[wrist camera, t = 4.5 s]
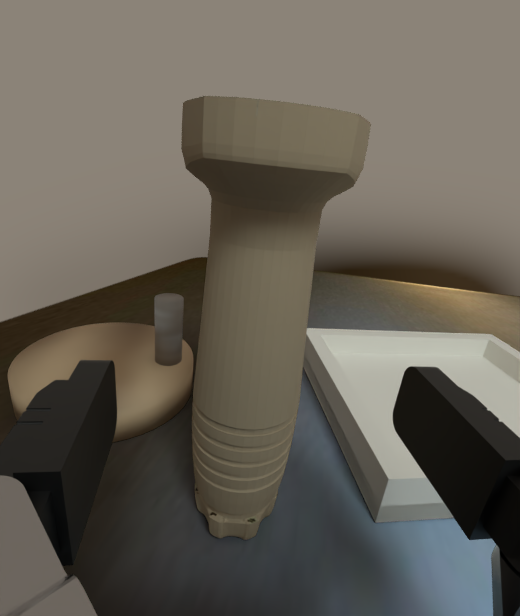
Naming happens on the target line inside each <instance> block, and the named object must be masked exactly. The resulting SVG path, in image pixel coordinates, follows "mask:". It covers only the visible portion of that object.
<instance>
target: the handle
mask: <svg viewBox="0 0 520 616" xmlns="http://www.w3.org/2000/svg"><path fill="white" fill-rule="evenodd" d="M370 126H371V124H370V122H369V121H367V120H366V119H365V118H363V117H362V116H361V115H359V114H355V113H350V112H345V111H340V110H335V109H330V108H324V107H317V106H311V105H304V104H296V103H289V102H280V101H270V100H261V99H251V98H239V97H220V96H218V97H217V96H203V97H199V98H195V99H191V100H188V101H185V102H184V103H183V118H182V153H183V157H184V161H185V165H186V169H187V170H189V171H190V172H191V173H192V174H193V175H194V176H195V177H196V178H198V179H199V180H200V181H202V182H203V183H204V184H205V185H206V187H207V188H208V189H209V192H210V195H211V198H212V203H211V225H210V240H209V250H208V259H207V269H206V279H205V289H204V298H203V308H202V317H201V326H200V335H199V344H198V353H197V362H196V370H195V379H194V388H193V408H192V410H193V413H192V440H193V441H192V448H193V464H194V474H195V480H196V482H195V499H196V504H197V509H198V510H199V511H200V512H201V513H203V514H204V515H205V516H206V518H207V520H208V523H209V532H210V533H211V534H212V535H214V536H215V537H218V538H223V537H226V536H235V537H240V538H242V539H243V540H247V539H250V538H252V537H254V536H256V534H257V531H258V528H259V524H260V522H261V521H262V520H263V518H264V517H267V516H269V515H270V514H271V512H272V510H273V507H274V504H275V501H276V498H277V494H278V488H279V485H280V483H281V480H282V477H283V474H284V471H285V467H286V463H287V459H288V455H289V451H290V447H291V443H292V438H293V433H294V428H295V422H296V417H297V412H298V406H299V400H300V391H301V381H302V371H303V361H304V351H305V341H306V331H307V321H308V312H309V303H310V294H311V285H312V277H313V266H314V259H315V249H316V241H317V236H318V230H319V224H320V218H321V213H322V209H323V207H324V206H325V204H326V203H327V201H329V200H330V199H331V198H332V197H334V196H336V195H338V194H340V193H342V192H344V191H346V190H348V189H350V188H351V187H353V186H354V184H355V182H356V181H357V179H358V177H359V175H360V173H361V171H362V169H363V165H364V160H365V156H366V151H367V146H368V139H369V133H370Z"/></svg>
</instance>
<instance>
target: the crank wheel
mask: <svg viewBox="0 0 520 616" xmlns="http://www.w3.org/2000/svg"><path fill="white" fill-rule="evenodd" d="M182 334H183V297H182V296H180V295H178V294H172V293H165V294H159V295H157V296H155V327H154V326H150V325H144V324H137V323H100V324H92V325H85V326H80V327H75V328H71V329H67V330H64V331H60V332H57V333H54V334H52V335H49V336H47V337H45V338H43V339H40V340H38V341H36V342H35V343H33V344H31V345H30V346H28V347H27V348H26V349H24V350H23V351H22V352H21V353H20V354H18V355H17V356H16V358H15V359H14V360H13V362H12V363H11V365H10V367H9V370H8V383H9V388H10V394H11V399H12V405H13V410H14V414H15V417H16V419H17V421H18V419H19V418H20V416H21V415H22V413H23V412H24V411H26V408H27V406H28V405H29V403H30V402H31V400H32V399H33V398H34V396H35V395H36V393H37V392H39V391H40V390H41V389H43V388H44V387H46V386H47V385H49V384H50V383H51V382H53V381H54V380H68V379H69V378H70V376H71V374H72V373H73V371H74V369H75V368H76V366H77V364H78V363H79V361H80V360H112V361H113V362H114V365H115V379H116V398H117V424H116V430H115V435H114V438H113V441H112V442H117V441H121V440H126V439H130V438H133V437H136V436H139V435H142V434H144V433H147V432H149V431H151V430H153V429H155V428H157V427H159V426H161V425H163V424H164V423H166V422H167V421H169V420H170V419H172V418H173V417H174V416H175V415H176V414H177V413H179V412H180V411H181V409H182V408H183V407H184V406H185V404H186V403H187V401H188V400H189V397H190V395H191V392H192V382H193V353H192V350H191V348H190V347H189V345H188V344H187V343H186V342H185V341H184V340H183V339H182Z"/></svg>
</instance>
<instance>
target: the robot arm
mask: <svg viewBox="0 0 520 616" xmlns="http://www.w3.org/2000/svg"><path fill="white" fill-rule="evenodd" d="M116 424H117V398H116V379H115V365H114V362H113V361H112V360H80V361H79V363H78V364H77V366H76V368H75V369H74V371H73V373H72V374H71V376H70V378H69V379H68V380H54V381H53V382H51V383H50V384H49V385H47V386H46V387H44V388H43V389H41V390H40V391H39V392H37V393H36V395H35V396H34V398H33V399H32V400H31V402H30V403H29V405H28V406H27V408H26V411H24V412H23V413H22V415H21V416H20V418H19V419H18V421H17V424H16V425H14V426H13V428H12V429H11V431H10V432H9V434H8V435H7V436H6V438H5V439H4V441H3V442H2V444H1V445H0V616H97V614H96V612H95V610H94V608H93V606H92V604H91V602H90V600H89V598H88V596H87V594H86V592H85V590H84V588H83V587H82V585H81V583H80V581H79V580H78V579H77V577H76V576H75V575H73V574H71V575H70V576H68V575H67V574H66V572H65V571H64V569H63V567H62V566H65V565H73V564H74V561H75V558H76V554H77V551H78V548H79V545H80V542H81V539H82V536H83V532H84V529H85V526H86V523H87V520H88V517H89V514H90V511H91V507H92V504H93V501H94V498H95V495H96V492H97V489H98V485H99V482H100V479H101V476H102V473H103V470H104V467H105V463H106V460H107V457H108V454H109V451H110V448H111V445H112V441H113V438H114V435H115V430H116ZM393 425H394V428H395V431H396V433H397V434H398V436H399V437H400V439H401V440H402V442H403V443H404V445H405V446H406V448H407V449H408V451H409V452H410V454H411V455H412V457H413V458H414V459H415V461H416V462H417V464H418V465H419V467H420V468H421V470H422V471H423V473H424V474H425V476H426V477H427V479H428V480H429V482H430V483H431V484H432V486H433V487H434V489H435V490H436V492H437V493H438V495H439V496H440V498H441V499H442V501H443V502H444V504H445V505H446V507H447V508H448V510H449V511H450V512H451V514H452V515H453V517H454V518H455V520H456V521H457V523H458V524H459V526H460V527H461V529H462V530H463V532H464V533H465V535H466V536H467V538H468V539H469V540H475V539H490V538H492V539H493V541H494V542H495V543H496V546H495V548H494V550H493V552H492V557H491V561H492V592H493V616H520V438H519V437H518V436H517V435H516V434H515V433H514V432H513V431H512V430H511V429H510V428H509V427H507V426H506V425H505V424H504V423H503V422H499V418H498V417H496V416H495V415H494V414H493V413H492V412H491V411H488V410H487V407H485V406H484V405H483V404H482V403H481V402H480V401H479V400H478V399H477V398H476V397H474V396H473V395H472V394H470V393H468V392H467V391H465V390H463V389H462V388H460V387H458V386H457V385H456V384H455V383H454V382H453V381H452V380H451V379H450V378H449V377H448V376H447V375H446V374H444V373H443V372H442V371H441V370H440V369H439V368H437V367H418V366H411V367H408V368H407V369H406V370H405V372H404V375H403V378H402V382H401V385H400V388H399V392H398V395H397V399H396V402H395V406H394V409H393Z"/></svg>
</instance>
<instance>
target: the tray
mask: <svg viewBox="0 0 520 616" xmlns="http://www.w3.org/2000/svg"><path fill="white" fill-rule="evenodd" d="M411 366H418V367H437V368H439V369H440V370H441V371H442V372H443V373H444V374H446V375H447V376H448V377H449V378H450V379H451V380H452V381H453V382H454V383H455V384H456V385H457V386H458V387H460V388H462V389H463V390H465V391H467V392H468V393H470V394H472V395H473V396H474V397H476V398H477V399H478V400H479V401H480V402H481V403H482V404H483V405H484V406H485V407H487V410H488V411H491V412H492V413H493V414H494V415H495V416H496V417H498V418H499V422H503V423H504V424H505V425H506V426H507V427H509V428H510V429H511V430H512V431H513V432H514V433H515V434H516V435H517V436H518V437H519V438H520V352H518V351H517V350H515V349H514V348H512V347H511V346H509V345H507V344H506V343H504V342H503V341H501V340H500V339H498V338H496V337H495V336H493V335H492V334H467V333H436V332H406V331H375V330H345V329H314V328H307V331H306V341H305V351H304V361H303V368H304V370H305V372H306V374H307V376H308V379H309V381H310V383H311V385H312V387H313V389H314V391H315V394H316V396H317V398H318V400H319V402H320V404H321V407H322V409H323V411H324V413H325V415H326V417H327V420H328V422H329V424H330V426H331V428H332V430H333V433H334V435H335V437H336V439H337V441H338V443H339V446H340V448H341V450H342V452H343V454H344V456H345V459H346V461H347V463H348V465H349V467H350V469H351V471H352V474H353V476H354V478H355V480H356V482H357V484H358V487H359V489H360V491H361V493H362V495H363V497H364V500H365V502H366V504H367V506H368V508H369V510H370V513H371V515H372V517H373V519H374V521H375V523H381V522H398V521H414V520H430V519H447V518H454V517H453V515H452V514H451V512H450V511H449V510H448V508H447V507H446V505H445V504H444V502H443V501H442V499H441V498H440V496H439V495H438V493H437V492H436V490H435V489H434V487H433V486H432V484H431V483H430V482H429V480H428V479H427V477H426V476H425V474H424V473H423V471H422V470H421V468H420V467H419V465H418V464H417V462H416V461H415V459H414V458H413V457H412V455H411V454H410V452H409V451H408V449H407V448H406V446H405V445H404V443H403V442H402V440H401V439H400V437H399V436H398V434H397V433H396V431H395V428H394V425H393V409H394V406H395V402H396V399H397V395H398V392H399V388H400V385H401V382H402V378H403V375H404V372H405V370H406V369H407V368H408V367H411Z"/></svg>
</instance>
